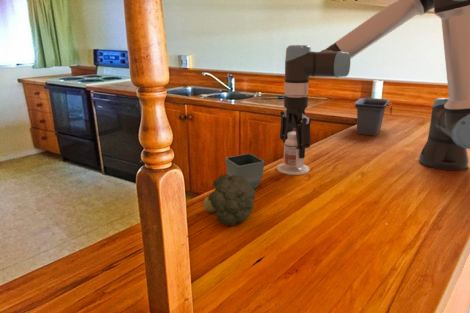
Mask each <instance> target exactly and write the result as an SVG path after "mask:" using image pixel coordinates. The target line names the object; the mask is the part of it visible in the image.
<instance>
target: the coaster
mask: <svg viewBox="0 0 470 313" xmlns="http://www.w3.org/2000/svg"><path fill="white" fill-rule="evenodd" d="M276 171H277V172H278V173H280V174H283V175H287V176H302V175H306V174H308V173H309V172H310V166H308V165H307V164H304V166H303V167H299V168H296V167H289V166H286V165H285V162H284V163H279V164H277V165H276Z"/></svg>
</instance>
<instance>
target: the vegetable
mask: <svg viewBox="0 0 470 313" xmlns="http://www.w3.org/2000/svg"><path fill="white" fill-rule="evenodd" d="M212 185H213V186H214V191H211V193H209V196H205V198H204V199H203V201H202V205H203V208H204V210H205V211H206V212H208V213H211V212H212V213H215V212H216V216H215V217H216V220H217V221H218V222H220V223H222V224H224V225H227V226H229V227H233V226H235V225H236V224H237V223H242V222H243V221H246V220H247V219H248V218H249V217H250V214H251V213H252V211H253V209H254V201H255V198H256V191H255V189H253V188H252V187H251V186H250V184H249V183H248V182H247V181H246V179H245V178H244V177H242V176H236V175H233V176H230V175H228V173H227V174H225V173H224V174H221V175H220V176H219V177H217V178H215V179H214V181H213V183H212Z"/></svg>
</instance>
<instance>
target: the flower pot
mask: <svg viewBox="0 0 470 313" xmlns="http://www.w3.org/2000/svg"><path fill="white" fill-rule="evenodd" d="M225 165H226V171H227V174H228V175H230V176H233V175H236V176H242V177H244V178H245V179H246V181H247V182H248V183H249V184H250V186H251V187H252V188H253V190H255V189H256V188H257V187H258V186H259V185H260V182H261V181H262V178H263V175H264V174H263V173H264V167H265V160H263V159H261V158H259V157H257V156H256V155H254V154H253V153H244V154H239V155H234V156H226V157H225Z"/></svg>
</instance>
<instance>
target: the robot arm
mask: <svg viewBox="0 0 470 313" xmlns="http://www.w3.org/2000/svg"><path fill="white" fill-rule="evenodd" d="M433 9H434V10H433ZM430 10H433V12H434V15H435V16H437V17H438V18H440V19H441V20H440V21H441V30H442V39H443V50H444V59H445V71H446V80H447V82H446V83H447V90H448V92H447V93H448V98H447V97H438V98H436V99H434V101H433V105H432V107H431V116H430V120H429V121H430V122H429V128H428V135H427V136H428V137H427V140H426V142H425V144H424V146H423V148H422V150H421V152H420V153H419V158H418V161H419V162H420V164H423V165H424V166H427V167H430V168H433V169H438V170H445V171H462V170H463V171H464V170H466V169H467V168H468V165H469V156H468V150H470V0H394V1H393V2H391V3H389V4H387V6H385V7H384V8H382V9H381V10H379V11H378V12H377V13H375V14H373V15H371V17H369V18H367V19H366V20H365V21H364V22H362V23H361V24H359V25H358V26H357V27H355V28H354V29H352V30H351V31H349V32H348V33H347V34H345V35H343V36H342V37H340V38H339V39H337V40H336V41H335V42H334V43H333V44H331V45H329V46H328V47H326V48H325V49H322V50H320V51H312V49H311V46H310V45H307V44H291V45H290V44H289V45H288V46H287V47H286V49H285V59H284V60H285V61H284V62H285V63H284V88H283V89H284V91H283V92H284V93H283V94H284V95H285V96H283V107H284V108H285V110H283V111H282V110H281V111H280V129H279V130H280V131H279V140H281V141H282V142H283V162H284V163H285V141H286V139H288V136H287V134H288V132H291V131H294V129H295V131H296V137H297V143H298V148H296V166H295V167H296V168H299V167H303V166H304V165H305V164H304V163H305V159H304V158H305V157H306V156H305V155H306V154H305V153H306V149H308V148H310V147H311V122H312V117H310V116H306V109H307V108H308V104H309V97H308V96H307V95H309V83H310V77H312V78H314V77H316V78H317V77H321V78H323V77H325V78H330V77H331V78H341V77H342V78H343V77H347V76H349V73H350V70H351V59H353V58H354V57H355V56H357V55H359V54H360V53H362V52H363V51H364V50H366V49H368V48H369V47H370V46H372V45H374V44H375V43H377V42H378V41H380V40H381V39H382V38H384V37H386V36H387V35H388V34H390V33H392V32H393V31H395V30H396V29H397V28H399V27H401V26H402V25H404V24H405V23H407V22H408V21H410V20H411V19H413V18H414V17H415V16H419V15H420V16H423V15H424V14H426V13H427V12H429V11H430ZM301 144H302V145H301ZM467 149H468V150H467Z"/></svg>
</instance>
